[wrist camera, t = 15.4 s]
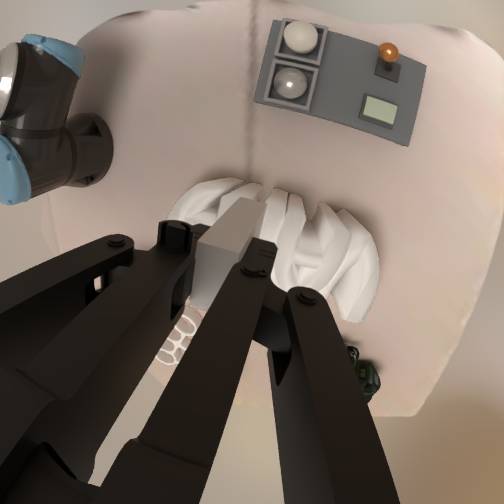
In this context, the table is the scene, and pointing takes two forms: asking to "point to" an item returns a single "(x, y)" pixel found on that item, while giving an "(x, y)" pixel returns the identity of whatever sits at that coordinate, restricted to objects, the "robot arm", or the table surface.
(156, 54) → the table surface
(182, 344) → the knuckle duster
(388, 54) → the toggle lever
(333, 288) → the white wavy slab sculpture
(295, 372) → the robot arm
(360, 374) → the headphones
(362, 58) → the switch panel
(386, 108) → the rocker switch
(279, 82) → the metal button
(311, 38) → the white button
